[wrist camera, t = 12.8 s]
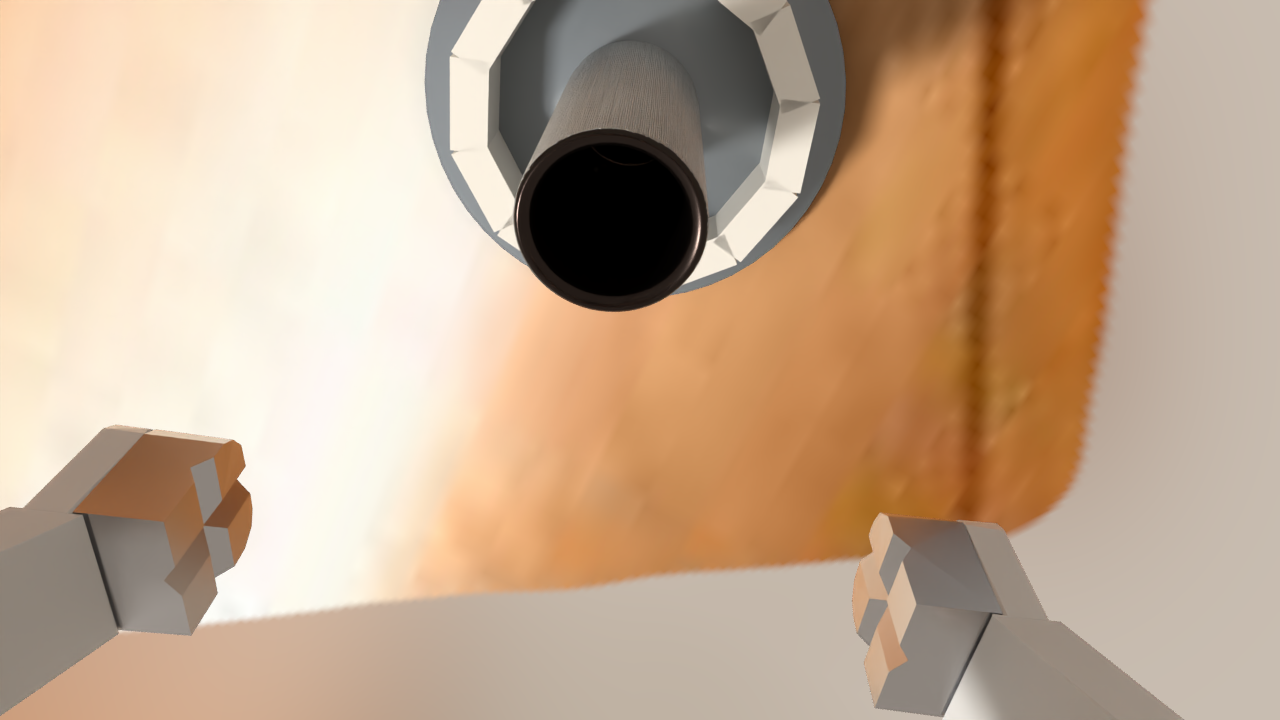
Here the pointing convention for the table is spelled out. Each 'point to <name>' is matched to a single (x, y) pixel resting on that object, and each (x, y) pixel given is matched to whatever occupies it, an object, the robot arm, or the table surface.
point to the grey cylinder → (617, 183)
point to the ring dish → (720, 71)
